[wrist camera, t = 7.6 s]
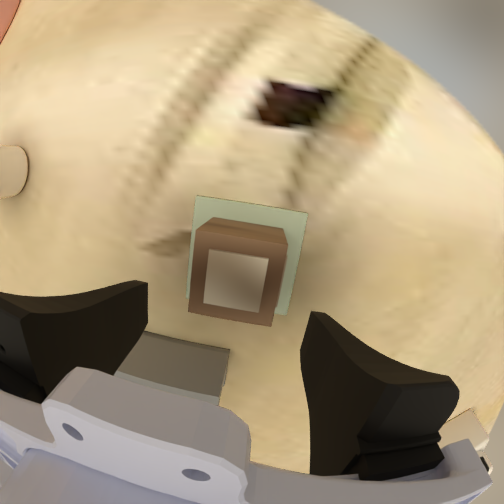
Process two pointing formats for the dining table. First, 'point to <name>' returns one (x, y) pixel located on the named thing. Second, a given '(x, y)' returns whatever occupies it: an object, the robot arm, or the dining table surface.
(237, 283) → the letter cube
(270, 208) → the pad
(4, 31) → the cake
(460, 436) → the medicine bottle
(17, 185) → the beige paper cup
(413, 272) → the dining table surface
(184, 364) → the grey block
